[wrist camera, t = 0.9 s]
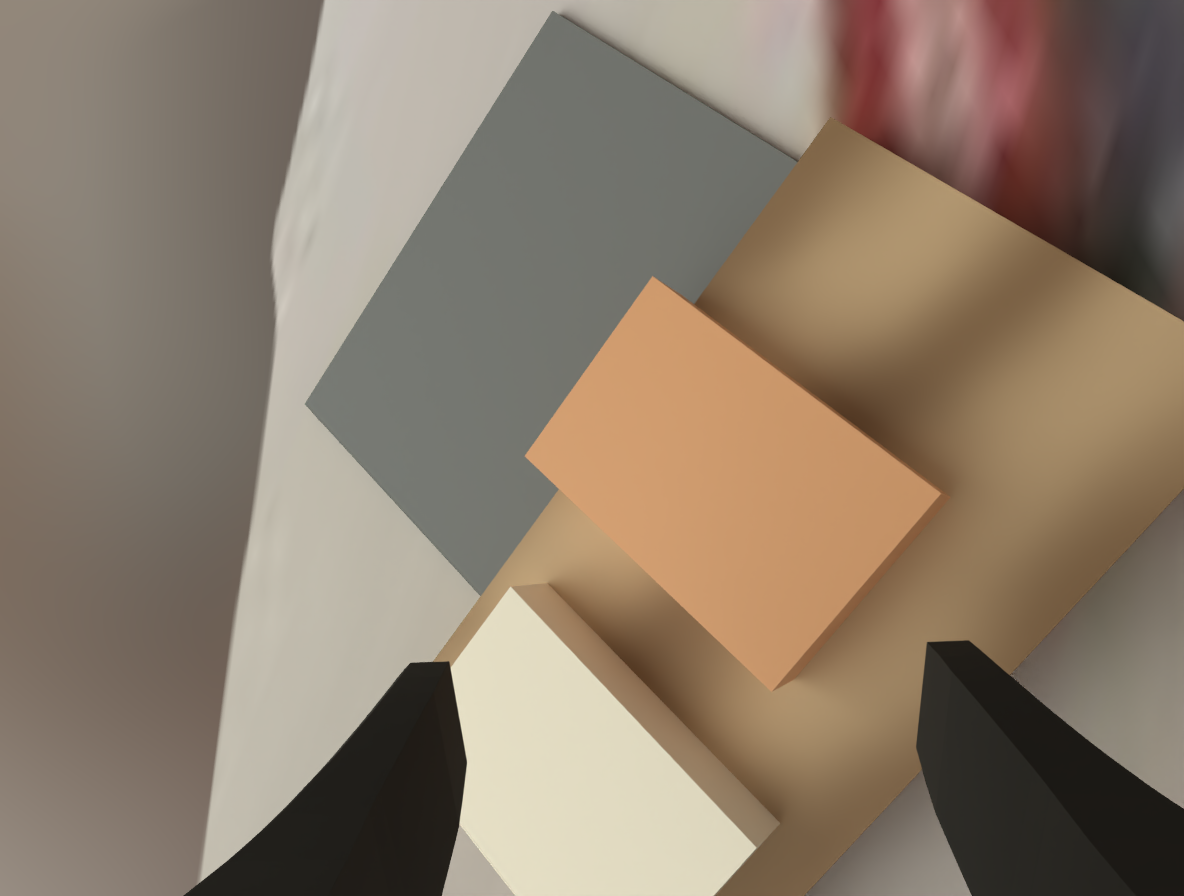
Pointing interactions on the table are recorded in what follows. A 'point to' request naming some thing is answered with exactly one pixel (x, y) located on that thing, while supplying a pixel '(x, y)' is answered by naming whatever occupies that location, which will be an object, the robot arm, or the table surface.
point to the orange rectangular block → (731, 483)
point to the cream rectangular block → (588, 766)
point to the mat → (533, 283)
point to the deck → (924, 442)
